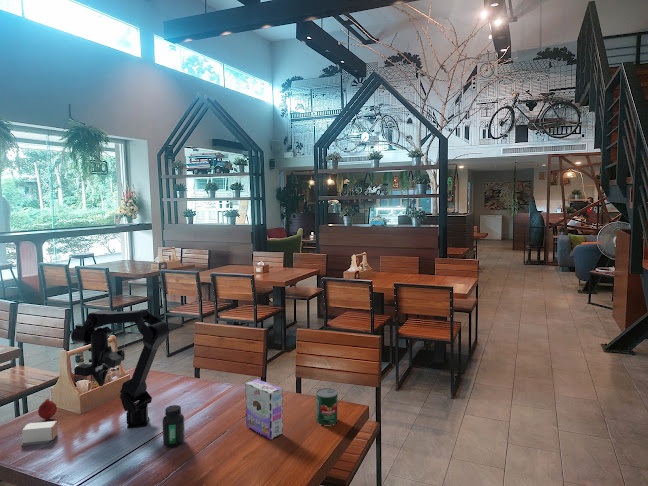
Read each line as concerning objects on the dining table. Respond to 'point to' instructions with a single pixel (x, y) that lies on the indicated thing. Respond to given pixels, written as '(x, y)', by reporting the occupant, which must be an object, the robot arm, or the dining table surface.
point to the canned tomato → (326, 406)
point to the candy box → (264, 408)
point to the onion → (47, 409)
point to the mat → (35, 443)
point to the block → (40, 431)
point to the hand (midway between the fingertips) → (101, 385)
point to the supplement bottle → (173, 427)
